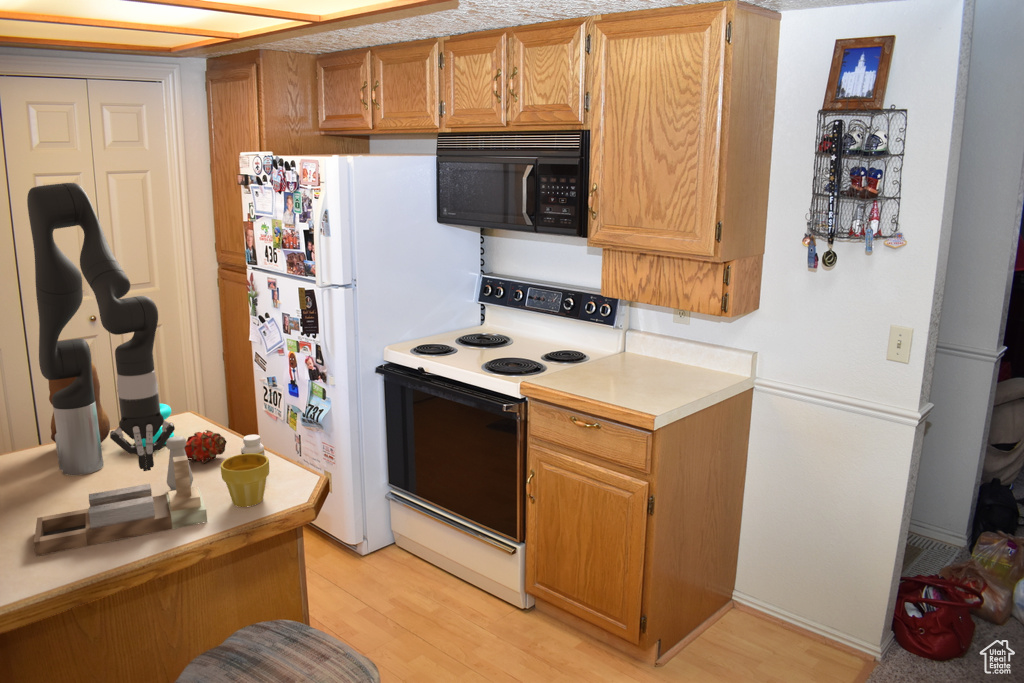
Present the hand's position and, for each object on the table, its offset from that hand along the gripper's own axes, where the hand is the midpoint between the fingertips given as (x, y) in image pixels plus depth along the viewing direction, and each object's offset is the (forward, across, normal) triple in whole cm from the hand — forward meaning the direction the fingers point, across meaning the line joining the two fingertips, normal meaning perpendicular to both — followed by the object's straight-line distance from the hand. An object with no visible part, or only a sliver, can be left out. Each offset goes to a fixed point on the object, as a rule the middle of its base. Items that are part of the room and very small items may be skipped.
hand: (147, 469), depth 167 cm
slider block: (+9, +7, -1) cm, 11 cm away
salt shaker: (+12, +7, +14) cm, 20 cm away
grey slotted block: (+9, -6, 0) cm, 11 cm away
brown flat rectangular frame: (+12, -6, 0) cm, 13 cm away
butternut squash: (+13, -13, +54) cm, 58 cm away
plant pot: (+12, +20, 0) cm, 23 cm away
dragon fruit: (+12, +14, +31) cm, 36 cm away
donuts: (+13, +4, +51) cm, 52 cm away
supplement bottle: (+12, +24, +16) cm, 31 cm away
